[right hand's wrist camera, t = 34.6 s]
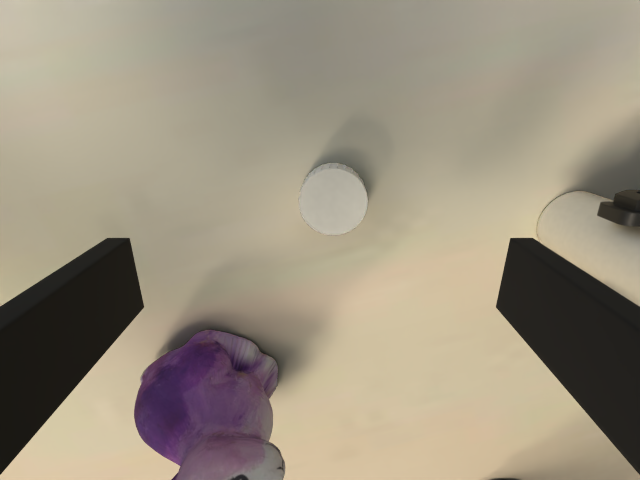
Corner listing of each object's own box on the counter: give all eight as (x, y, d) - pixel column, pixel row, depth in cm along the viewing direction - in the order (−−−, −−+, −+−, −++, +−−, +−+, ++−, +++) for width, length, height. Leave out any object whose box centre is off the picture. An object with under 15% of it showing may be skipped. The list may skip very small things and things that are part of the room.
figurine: (309, 370, 30) (289, 605, 16) (224, 426, 32) (142, 672, 18) (230, 293, 27) (124, 490, 13) (145, 360, 30) (-19, 585, 16)
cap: (346, 235, 26) (348, 247, 23) (290, 208, 25) (286, 218, 23) (377, 180, 24) (381, 187, 22) (318, 150, 24) (317, 154, 21)
